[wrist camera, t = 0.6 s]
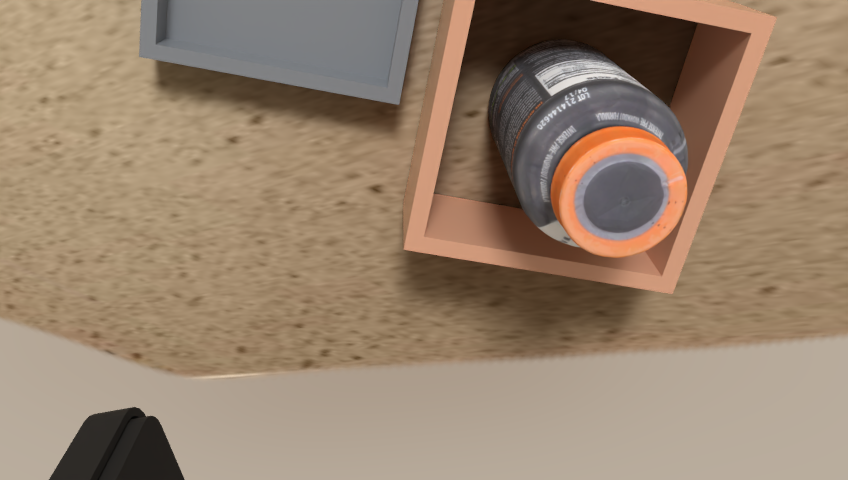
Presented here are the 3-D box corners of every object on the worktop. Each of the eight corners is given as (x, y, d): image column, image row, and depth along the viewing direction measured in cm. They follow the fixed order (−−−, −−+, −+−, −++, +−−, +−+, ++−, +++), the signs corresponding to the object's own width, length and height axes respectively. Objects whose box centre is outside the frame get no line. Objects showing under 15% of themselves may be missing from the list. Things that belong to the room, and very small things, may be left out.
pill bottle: (552, 194, 35) (615, 322, 25) (458, 112, 33) (484, 212, 23) (650, 99, 33) (761, 194, 23) (556, 6, 32) (631, 64, 21)
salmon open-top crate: (722, -2, 32) (777, 17, 27) (638, 242, 36) (672, 293, 32) (455, -58, 30) (464, -48, 26) (403, 202, 35) (403, 249, 30)
